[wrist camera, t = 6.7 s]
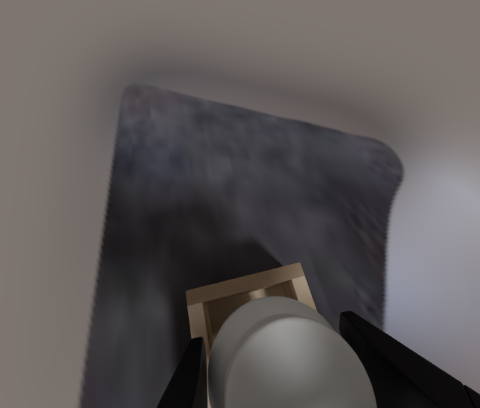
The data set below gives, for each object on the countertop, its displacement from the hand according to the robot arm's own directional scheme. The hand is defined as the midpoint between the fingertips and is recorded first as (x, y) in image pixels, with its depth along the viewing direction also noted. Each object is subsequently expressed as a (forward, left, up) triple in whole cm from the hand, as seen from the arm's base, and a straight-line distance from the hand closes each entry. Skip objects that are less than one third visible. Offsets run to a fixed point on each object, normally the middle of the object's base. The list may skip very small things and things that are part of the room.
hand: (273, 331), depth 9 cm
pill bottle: (-1, 0, -7) cm, 7 cm away
